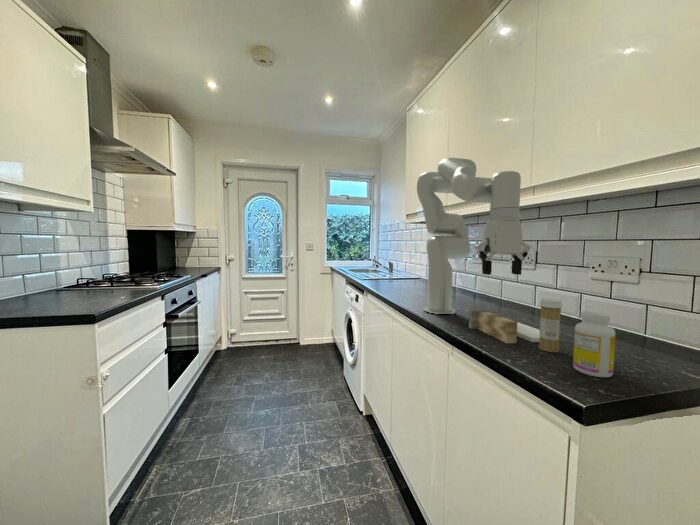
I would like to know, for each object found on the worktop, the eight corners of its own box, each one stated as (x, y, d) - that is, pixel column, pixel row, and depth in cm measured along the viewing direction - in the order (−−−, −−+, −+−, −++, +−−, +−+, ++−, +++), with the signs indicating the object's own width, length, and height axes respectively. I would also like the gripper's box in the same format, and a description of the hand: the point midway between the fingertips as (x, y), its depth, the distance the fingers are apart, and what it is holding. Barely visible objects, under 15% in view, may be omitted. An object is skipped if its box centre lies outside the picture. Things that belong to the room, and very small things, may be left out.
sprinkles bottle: (560, 350, 74) (563, 299, 73) (557, 354, 71) (560, 301, 70) (540, 345, 77) (543, 297, 77) (536, 349, 74) (538, 299, 74)
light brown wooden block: (522, 342, 80) (523, 321, 79) (500, 343, 79) (501, 322, 78) (487, 327, 95) (488, 310, 94) (468, 328, 94) (469, 310, 93)
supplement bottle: (599, 367, 64) (603, 311, 63) (621, 380, 57) (625, 318, 56) (566, 364, 65) (569, 309, 64) (583, 376, 59) (587, 316, 58)
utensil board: (494, 326, 96) (494, 323, 96) (517, 325, 97) (517, 322, 97) (531, 342, 80) (532, 338, 80) (559, 340, 82) (559, 336, 82)
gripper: (520, 218, 87) (518, 273, 88) (469, 216, 84) (467, 273, 85) (540, 215, 80) (537, 275, 80) (485, 213, 77) (482, 275, 78)
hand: (501, 274), depth 83 cm, fingers open, 9 cm apart
